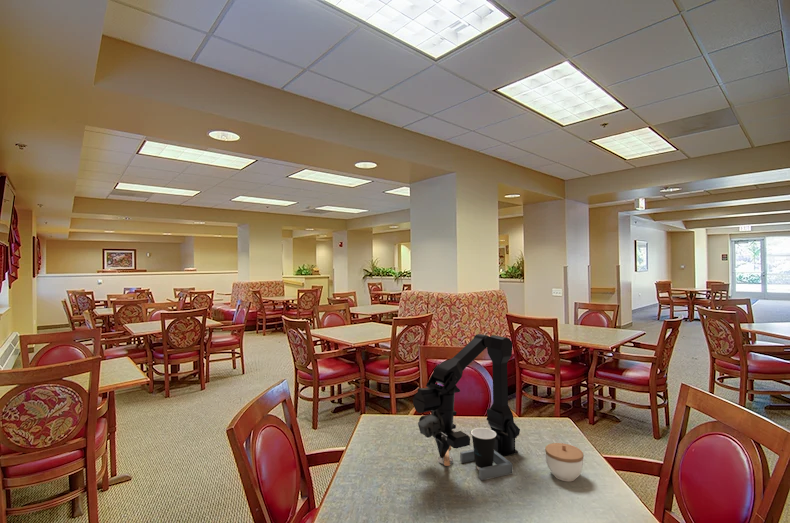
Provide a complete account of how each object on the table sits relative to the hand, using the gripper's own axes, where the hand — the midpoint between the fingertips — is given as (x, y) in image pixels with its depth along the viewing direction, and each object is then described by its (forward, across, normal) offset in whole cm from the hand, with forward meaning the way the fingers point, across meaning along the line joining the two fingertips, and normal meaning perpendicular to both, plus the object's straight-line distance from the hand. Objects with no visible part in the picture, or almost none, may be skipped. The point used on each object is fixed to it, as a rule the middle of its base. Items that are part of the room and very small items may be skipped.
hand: (442, 457), depth 121 cm
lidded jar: (+3, +21, +31) cm, 37 cm away
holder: (+4, +4, +14) cm, 15 cm away
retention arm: (+1, -2, +3) cm, 4 cm away
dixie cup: (+4, +4, +14) cm, 15 cm away
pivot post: (+5, -6, +6) cm, 9 cm away
